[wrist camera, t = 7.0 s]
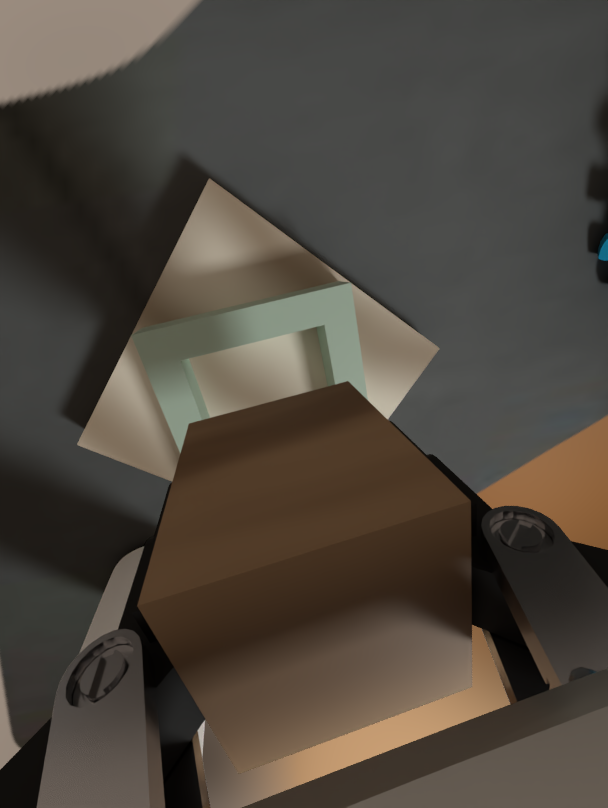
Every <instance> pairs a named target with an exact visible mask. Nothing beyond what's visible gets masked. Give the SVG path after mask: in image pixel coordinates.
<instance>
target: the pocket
mask: <svg viewBox="0 0 608 808" xmlns="http://www.w3.org/2000/svg"><path fill="white" fill-rule="evenodd" d="M314 327H316V328H317V334H318V339H319V344H320V349H321V354H322V360H323V365H324V370H325V375H326V380H327V386H331V385H335V384H339V383H343V382H346V381H349V382H350V383H351V384H352V385H353V386H354V387H355V388H356V389H357V390H358V391H359V392H360V393H361V394H362V395H363V396H364V397H365V398H366V399H367V400H368V397H367V390H366V383H365V376H364V369H363V362H362V355H361V348H360V341H359V334H358V327H357V320H356V313H355V306H354V299H353V292H352V285H351V283H350V282H342V281H336V282H332V283H328V284H324V285H320V286H315V287H311V288H307V289H303V290H299V291H294V292H290V293H286V294H282V295H278V296H273V297H269V298H265V299H261V300H257V301H252V302H248V303H244V304H240V305H236V306H231V307H227V308H223V309H219V310H215V311H210V312H206V313H202V314H198V315H193V316H189V317H185V318H181V319H177V320H172V321H168V322H164V323H160V324H156V325H151V326H147V327H143V328H141V329H140V330H138V331H137V332H135V333H134V334H132V335H131V337H132V339H133V341H134V344H135V346H136V349H137V351H138V353H139V356H140V358H141V361H142V363H143V365H144V368H145V370H146V373H147V375H148V377H149V380H150V382H151V385H152V387H153V389H154V392H155V394H156V397H157V399H158V401H159V404H160V406H161V409H162V411H163V413H164V416H165V418H166V421H167V423H168V425H169V428H170V430H171V433H172V435H173V437H174V440H175V442H176V445H177V447H178V449H179V452H180V453H181V450H182V446H183V443H184V439H185V436H186V432H187V429H188V425H189V423H193V422H197V421H200V420H204V419H208V418H210V416H209V413H208V410H207V408H206V405H205V402H204V399H203V396H202V394H201V391H200V388H199V385H198V382H197V380H196V377H195V374H194V371H193V368H192V366H191V363H190V360H189V359H190V358H194V357H198V356H202V355H206V354H210V353H214V352H218V351H222V350H226V349H230V348H234V347H238V346H242V345H246V344H250V343H254V342H258V341H262V340H266V339H270V338H274V337H278V336H282V335H286V334H290V333H294V332H298V331H302V330H306V329H310V328H314Z"/></svg>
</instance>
